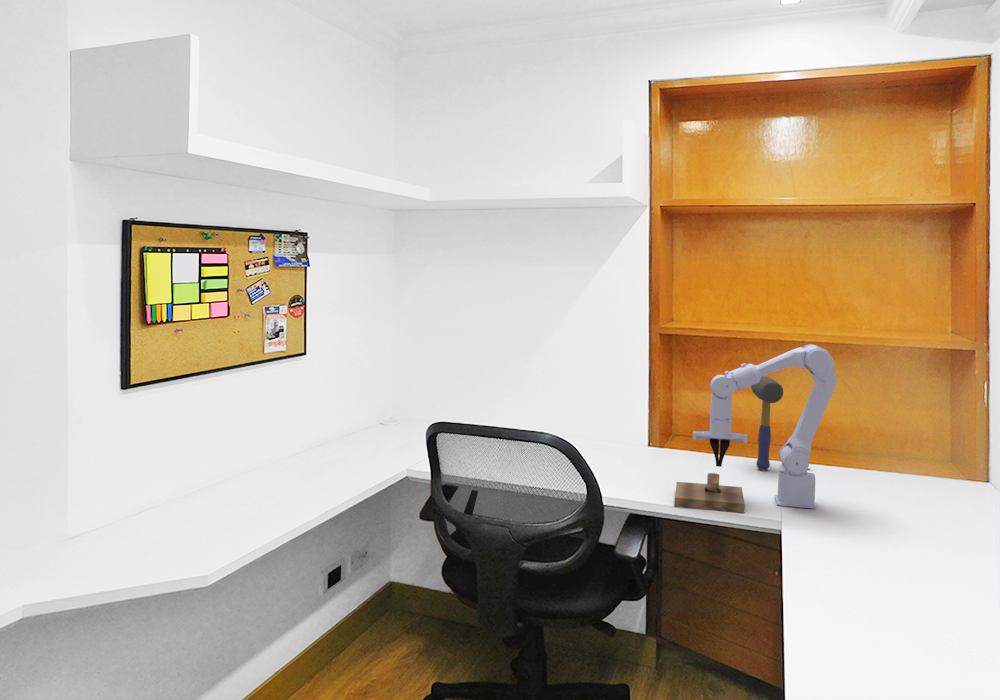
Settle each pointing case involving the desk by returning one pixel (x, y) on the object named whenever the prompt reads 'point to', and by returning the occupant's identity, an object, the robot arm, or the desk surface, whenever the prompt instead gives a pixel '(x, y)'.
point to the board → (709, 497)
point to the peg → (713, 482)
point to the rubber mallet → (766, 416)
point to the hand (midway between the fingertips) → (718, 465)
